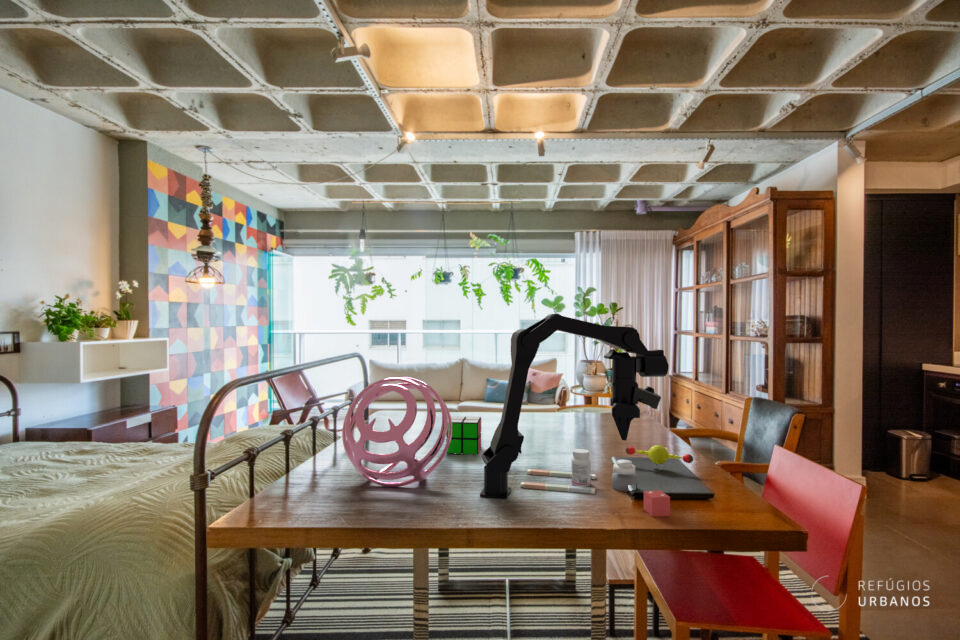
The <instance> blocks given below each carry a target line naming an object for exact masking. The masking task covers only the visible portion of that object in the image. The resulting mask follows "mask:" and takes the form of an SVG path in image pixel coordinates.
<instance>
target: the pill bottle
mask: <svg viewBox="0 0 960 640" xmlns="http://www.w3.org/2000/svg"><path fill="white" fill-rule="evenodd" d="M591 462H592V461H591V459H590V451H589V450H588V449H584V448H576V449H573V450H572V458H571V473H572V477H571V484H572V486H582V487H590V486H591V484H592V479H591V474H592V473H591V472H592V471H591V465H592V464H591Z"/></svg>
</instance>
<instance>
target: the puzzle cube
mask: <svg viewBox="0 0 960 640" xmlns="http://www.w3.org/2000/svg"><path fill="white" fill-rule="evenodd" d="M451 420H452V438H451V443H450V446H449V449H448V451H447V453H456V454H455V455H464V454H478V455H479V453H480V451H481V448H482V417H481V416H459V415H457V416H456V415H455V416H454V415H453V416H451ZM448 433H449V423H448V428H447V433H446V437H445V440H446V442H447V439H448ZM446 442H445V443H446ZM447 453H446V454H447ZM461 453H463V454H461Z"/></svg>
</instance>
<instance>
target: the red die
mask: <svg viewBox="0 0 960 640" xmlns="http://www.w3.org/2000/svg"><path fill="white" fill-rule="evenodd" d="M643 510H644V511H645V512H646V513H647V514H648V515H650V516H651V518H654V517H671V496H669V495H668V494H666V493H665V492H664V491H663V490H643Z"/></svg>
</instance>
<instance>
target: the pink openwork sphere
mask: <svg viewBox="0 0 960 640" xmlns="http://www.w3.org/2000/svg"><path fill="white" fill-rule="evenodd" d="M394 382H401V383H394ZM410 390H416V391H419V393H421V396H423V398H424V401H425V404H426V418H425V419H426V421H425V423H424V426H423V428H422V430H421V431H420V433H419V435H418V436H417V437H416V438H415V439H414V440H413V442H411V443H409V444H408V443H407V442H405V440H404V435H405V434H406V433H407V432H408V431H409V430H410V429H411V428H412V426H413V424H414V422H415V421H416V418H417V413H418V404H417V400H416V397H415V395H413V393H412V391H410ZM392 392H394V393H397V394H399V395H400V396H402V398H403V399H404V402H405V404H406V411H405V414H404V417H403V418H402V420H401V422H400V423H398V424H397V425H395V424H394V423H393V421H392V420H391V419H390V418H388V419H387V421H388V424H389V429H388V430H386V431H378V430H375V429H373V427H374V425H375V423H376V419H377V418H373V419H372V420H371V421H370V422H369V423H368V424H367V423H366V421H365V418H364V417H365V416H364V412H365V410H366V409H367V408H368V407H369V406H370V405H371V404H372V403H373V402H374V401H375V400H377V399H378V398H380V397H382V396H384V395H386V394H388V393H392ZM433 398H434V399H435V400H437V402H438V404H439V407H440V411H441V426H440V427H441V428H440V431H439V435H438V437H437V439H436V441H435V443H434V445H433V447H431V449H430V451H429V452H428V453H427V454H426V455H425V456H424V457H423V458H420V459H417V457H416V454H417V453H418V451H420V450H421V449H422V448H423V447H424V445H425V444H426V443H427V441H428V440H429V439H430V436H431V435H432V432H433V430H434V428H435V424H436V417H437V415H436V414H437V412H436V411H437V410H436V405H435V400H434V399H433ZM348 407H349V408H348V410H347V412H346V414H345V418H344V421H343V423H342V433H341V434H342V437H341V438H342V439H341V440H342V445H343V449H344V452H345V454H346V456H347V458H348V460H349V461H350V463H351V464H352V466H353V468H354V469H355V471H356V472H357V473H358V474H359V475H360V476H362V477H363V478H364V479H365V480H367V481H369V483H370V482H371V483H373V484H376V485H378V486H382V487H387V488H398V487H399V488H400V487H405V486H409V485H412V484H416V483H420V482H422V481H424V480H425V479H427V478H428V476H430V475H431V474H432V473H433V472H434V471H435V470H436V469H437V468H438V467H439V465H440V464H441V463H442V461H443V460H444V459H445V457H446V455H447V451H448V449H449V446H450V443H451V438H452V420H451V417H452V416H451V413H450V411H449V408H448V406H447V404H446V403H445V401H444V400H443V398H442V396H441V395H440V394H439V393H438V392H437V390H435V389H434V388H433V387H432V386H431V385H429V384H428V383H427V382H424V381H423V380H420V379H417V378H413V377H409V376H391V377H385V378H381V379H379V380H376V381H374V382H372V383H371V384H369V385H367V386H366V387H364V388H363V389H362V390H361V391H359V393H358V394H357V395H356V397H355V398H354V399H353V400H352V402H351V403H350V406H348ZM355 407H356V410H355V412H354V413H353V411H354V409H355ZM352 414H353V415H352ZM448 423H449V433H448V439H447V437H446V433H447V428H448ZM355 428H357V430H358V433H359V435H360V437H359V440H358V441H356V440H355V438H354V436H353V434H354V431H355ZM446 439H447V442H445V440H446ZM367 441H371V442H373V443H378V444H380V443H381V444H383V443H384V444H385V443H390V442H395V443H396V445H397V447H398V450H396V451H395V452H391V453H385V454H380V453H373V452H370V451H368V450H366V448H365V444H366V442H367ZM444 442H445V444H444ZM443 445H445V446H444V448H443V450H442V452H441V453H440V455H439V457H438V458H437V459H436V460H435V462H434V463H433V464H432V465H431V466H430V467H429V468H427V469H425V468H426V467H427V466H428V465H429V464H430V462H431V461H433V460H434V458H435V457H436V456H437V455H438V454H439V452H440V450H441V448H442V446H443ZM362 461H365V462H369V463H371V464H376V465H386V466H385V467H383V468H380V469H379V470H372V469H369V468H367V467H365V466H364V465H363V463H362ZM401 462H404V463H406V467H405V468H404V469H401V470H398V471H392V470H393V469H394V468H395V467H396V466H398V464H399V463H401ZM390 471H392V472H390ZM410 476H411V477H412V478H410V479H407V480H404V481H398V482H396V481H395V482H390V481H389V480H399V479H403V478H407V477H410ZM381 480H384V481H381ZM387 481H389V482H387Z"/></svg>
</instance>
